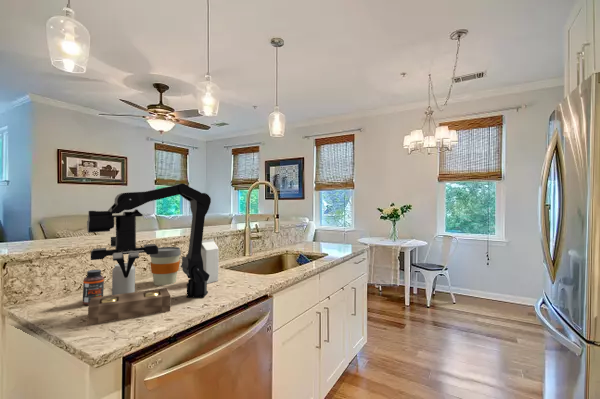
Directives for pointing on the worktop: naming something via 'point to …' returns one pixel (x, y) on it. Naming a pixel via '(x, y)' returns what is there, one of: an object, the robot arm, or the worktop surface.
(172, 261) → the reusable coffee cup
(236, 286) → the worktop surface
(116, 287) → the can
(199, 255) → the robot arm
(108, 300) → the peg
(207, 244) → the milk carton
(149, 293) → the peg
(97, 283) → the supplement bottle
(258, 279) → the worktop surface
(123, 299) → the walnut block
